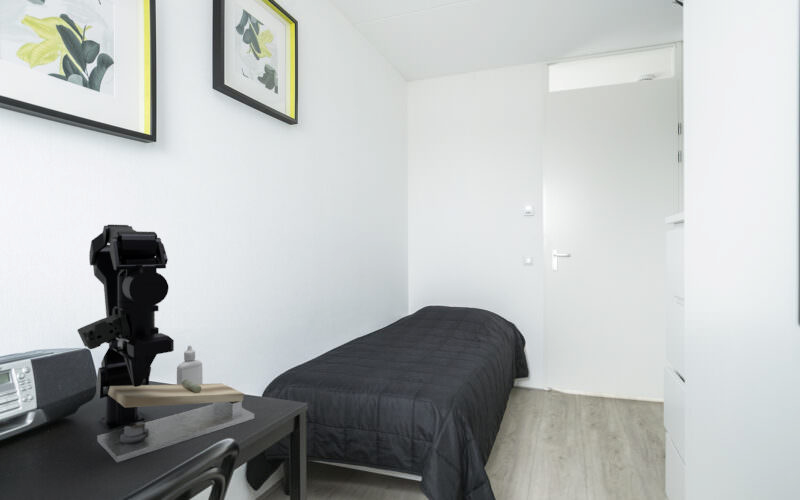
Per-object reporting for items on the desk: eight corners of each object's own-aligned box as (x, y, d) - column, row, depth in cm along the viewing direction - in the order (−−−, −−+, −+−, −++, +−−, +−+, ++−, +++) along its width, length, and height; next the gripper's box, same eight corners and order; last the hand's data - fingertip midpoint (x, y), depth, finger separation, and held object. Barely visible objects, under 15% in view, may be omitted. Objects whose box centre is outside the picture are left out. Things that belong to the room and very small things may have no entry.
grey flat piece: (97, 441, 81) (97, 420, 81) (227, 404, 99) (227, 388, 99) (116, 462, 73) (116, 439, 73) (254, 418, 91) (254, 400, 91)
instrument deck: (107, 394, 81) (111, 378, 82) (220, 390, 97) (223, 377, 98) (124, 407, 74) (128, 390, 75) (242, 400, 90) (245, 386, 91)
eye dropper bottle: (202, 396, 105) (202, 346, 105) (176, 399, 103) (176, 349, 103) (202, 390, 109) (202, 343, 109) (177, 394, 107) (177, 345, 107)
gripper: (69, 300, 79) (70, 385, 79) (98, 310, 67) (98, 411, 67) (138, 294, 87) (138, 372, 88) (174, 303, 75) (175, 393, 75)
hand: (136, 386), depth 79 cm, fingers closed
